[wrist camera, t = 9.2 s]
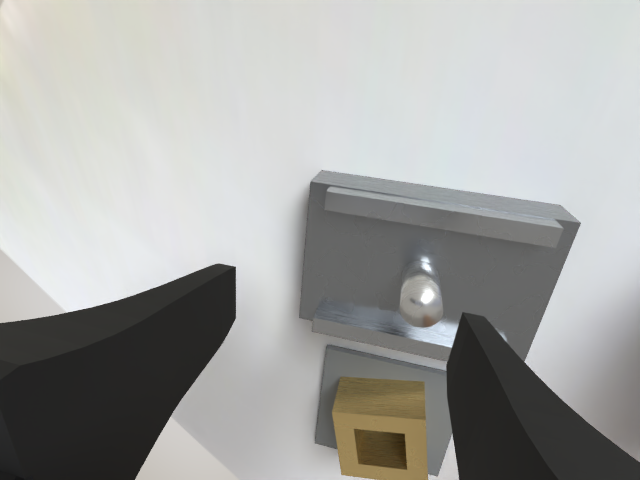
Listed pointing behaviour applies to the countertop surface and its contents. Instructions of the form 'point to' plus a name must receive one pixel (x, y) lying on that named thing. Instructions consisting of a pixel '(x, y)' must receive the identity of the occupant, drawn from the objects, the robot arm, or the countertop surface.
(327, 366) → the rubber mat
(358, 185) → the block
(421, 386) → the brass square ring
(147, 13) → the countertop surface
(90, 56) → the countertop surface
